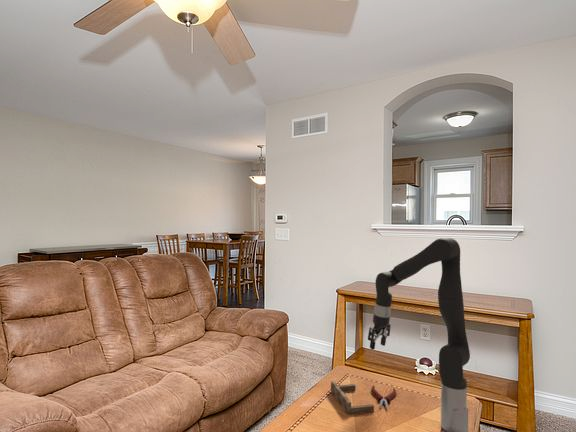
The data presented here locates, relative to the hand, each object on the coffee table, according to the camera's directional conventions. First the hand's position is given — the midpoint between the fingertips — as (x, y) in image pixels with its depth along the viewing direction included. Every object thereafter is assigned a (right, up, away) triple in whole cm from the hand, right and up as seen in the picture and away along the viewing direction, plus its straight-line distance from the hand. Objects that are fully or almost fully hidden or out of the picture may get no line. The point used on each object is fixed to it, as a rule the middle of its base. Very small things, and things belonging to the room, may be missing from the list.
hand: (377, 346), depth 168 cm
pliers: (0, -23, -4) cm, 23 cm away
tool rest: (-13, -22, -7) cm, 27 cm away
